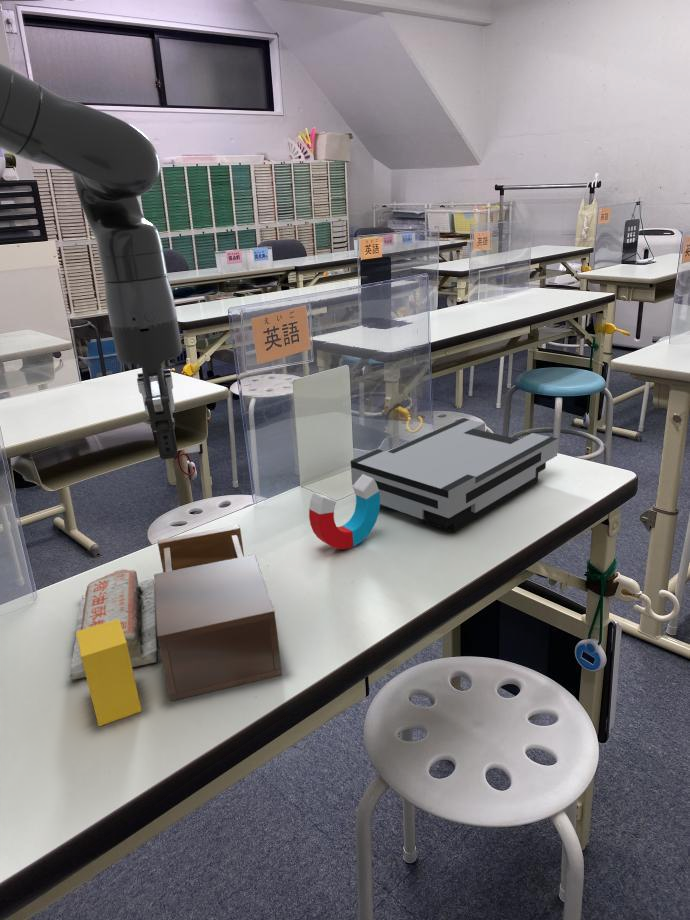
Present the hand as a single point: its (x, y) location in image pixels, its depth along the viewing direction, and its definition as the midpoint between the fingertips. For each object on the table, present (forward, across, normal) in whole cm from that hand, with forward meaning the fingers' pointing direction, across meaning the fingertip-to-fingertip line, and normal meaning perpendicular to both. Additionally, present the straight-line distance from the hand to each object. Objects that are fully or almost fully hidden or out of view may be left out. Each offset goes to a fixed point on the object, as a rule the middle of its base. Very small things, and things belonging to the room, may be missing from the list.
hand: (169, 456), depth 86 cm
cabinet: (+22, +12, +2) cm, 25 cm away
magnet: (+22, -8, +24) cm, 33 cm away
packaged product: (+22, +3, -10) cm, 24 cm away
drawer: (+21, -1, +2) cm, 21 cm away
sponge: (+21, +18, -10) cm, 29 cm away
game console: (+22, -21, +47) cm, 56 cm away
